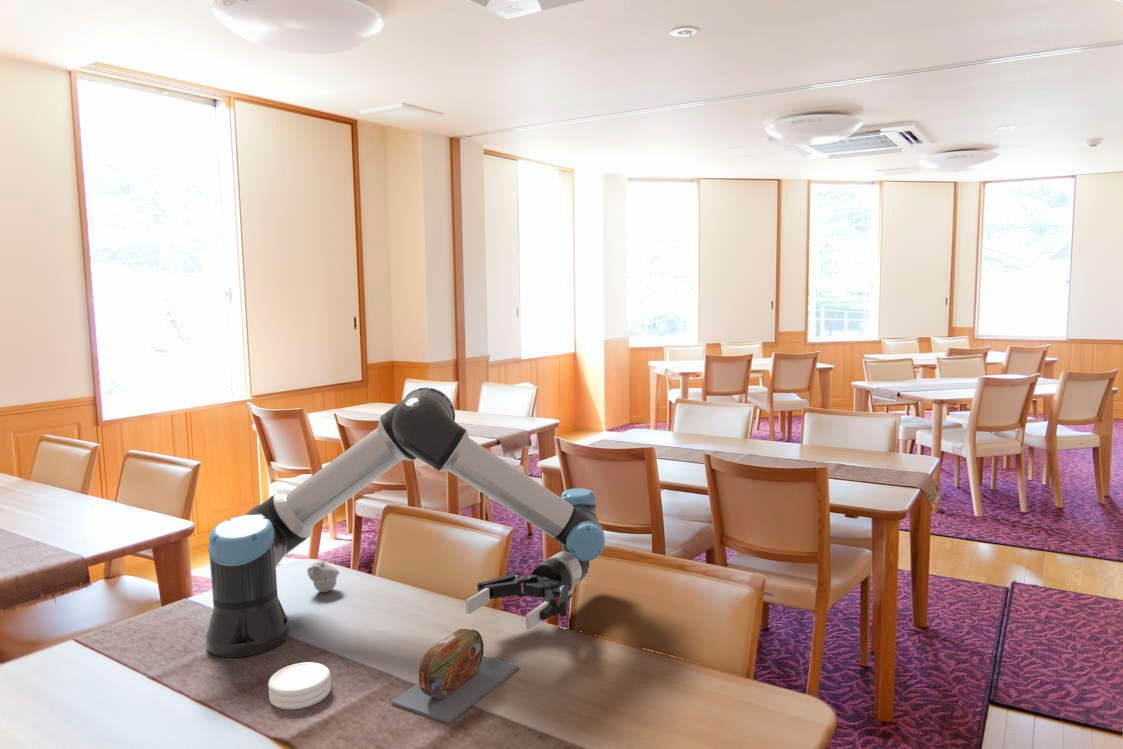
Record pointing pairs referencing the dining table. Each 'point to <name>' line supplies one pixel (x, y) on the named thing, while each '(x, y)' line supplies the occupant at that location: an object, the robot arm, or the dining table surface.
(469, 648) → the tin
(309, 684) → the white round stack
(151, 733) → the dining table surface
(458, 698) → the slate mat
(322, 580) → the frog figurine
